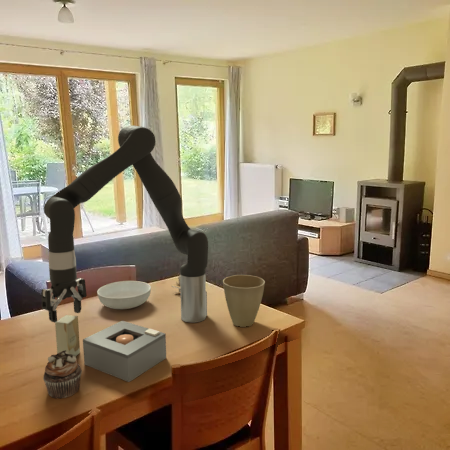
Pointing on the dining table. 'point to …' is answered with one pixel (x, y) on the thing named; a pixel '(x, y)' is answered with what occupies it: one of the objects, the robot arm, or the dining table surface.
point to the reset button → (124, 339)
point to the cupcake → (62, 375)
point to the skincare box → (68, 335)
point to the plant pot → (243, 298)
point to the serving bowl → (124, 294)
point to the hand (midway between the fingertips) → (66, 316)
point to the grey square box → (124, 350)
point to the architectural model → (177, 285)
